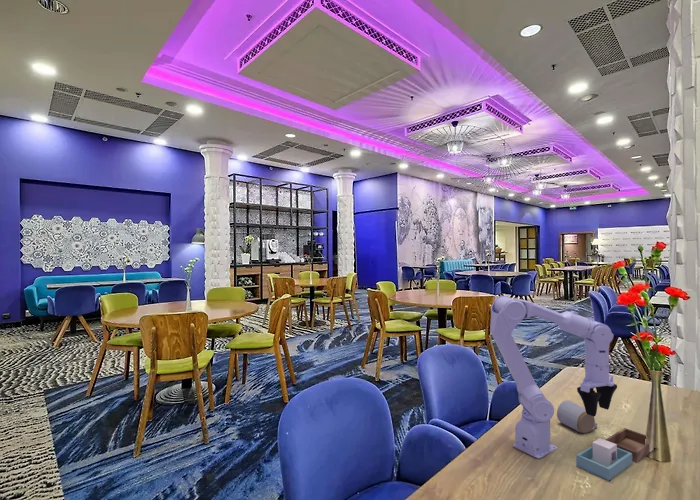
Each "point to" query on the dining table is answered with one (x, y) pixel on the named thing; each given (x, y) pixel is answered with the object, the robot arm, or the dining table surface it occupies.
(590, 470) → the teal tray
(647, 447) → the walnut tray
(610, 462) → the letter block
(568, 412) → the ceramic mug
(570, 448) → the dining table surface
